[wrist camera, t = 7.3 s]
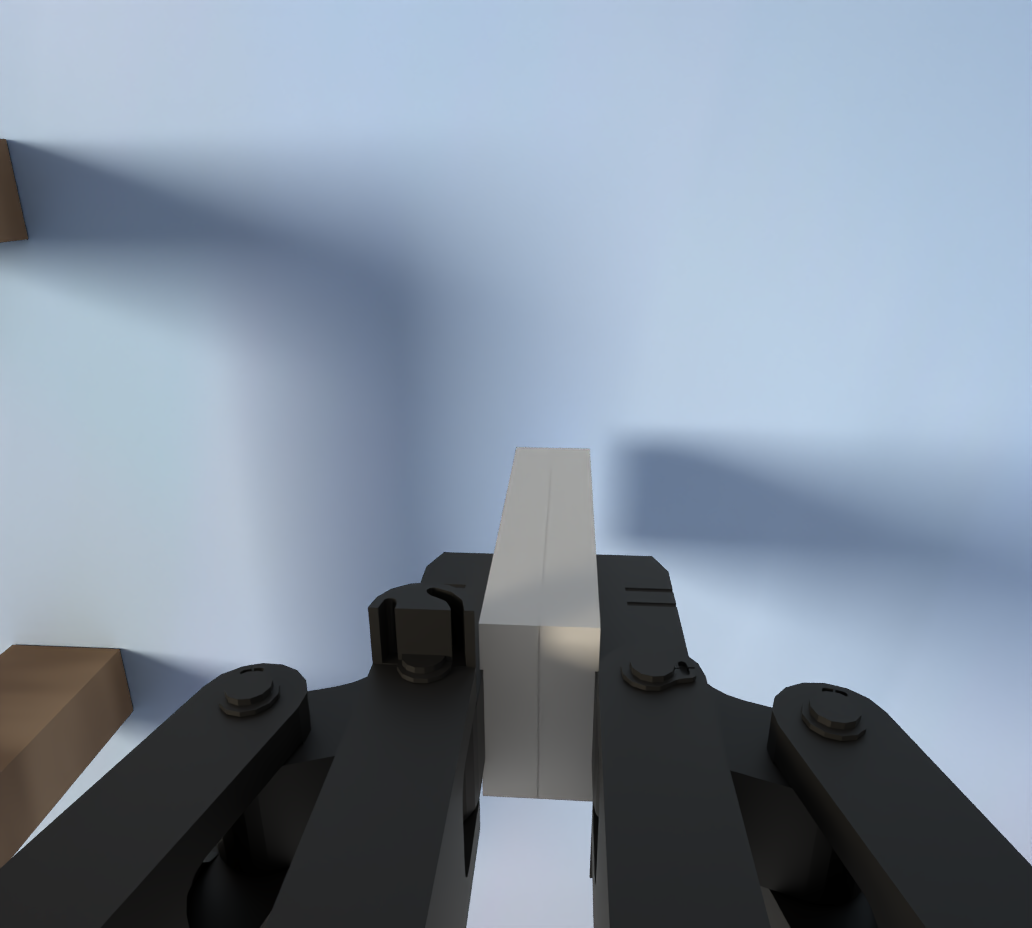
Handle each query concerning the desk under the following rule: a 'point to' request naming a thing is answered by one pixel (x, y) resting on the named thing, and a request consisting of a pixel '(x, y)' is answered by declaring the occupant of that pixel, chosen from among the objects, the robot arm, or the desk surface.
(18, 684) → the bridge
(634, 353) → the desk surface
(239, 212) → the desk surface
